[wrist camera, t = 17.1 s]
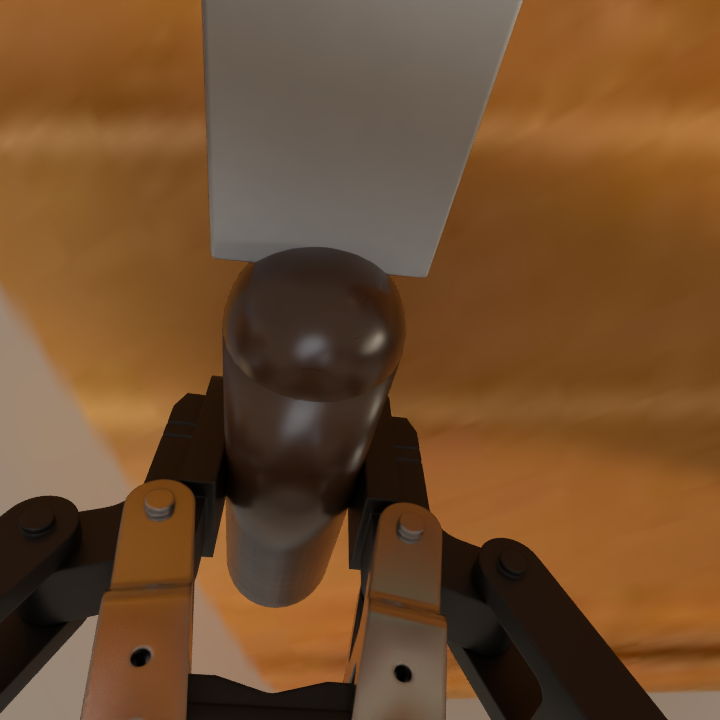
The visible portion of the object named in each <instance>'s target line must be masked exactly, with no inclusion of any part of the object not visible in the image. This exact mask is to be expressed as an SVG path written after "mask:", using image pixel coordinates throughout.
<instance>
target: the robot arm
mask: <svg viewBox="0 0 720 720" xmlns="http://www.w3.org/2000/svg"><path fill="white" fill-rule="evenodd" d="M225 498H226V470H225V437H224V385H223V377H222V376H212V377H211V380H210V383H209V386H208V389H207V392H206V395H200V394H191V393H187V394H186V395H185V396H184V397H183V398H182V399H181V400H180V401H178V402H177V403H176V404H175V405H174V407H173V409H172V412H171V414H170V417H169V420H168V424H167V425H166V427H165V430H164V433H163V436H162V438H161V441H160V443H159V446H158V448H157V451H156V454H155V456H154V459H153V461H152V464H151V467H150V469H149V472H148V474H147V477H146V480H145V482H144V484H142V485H140V486H138V487H137V488H135V489H134V490H133V491H132V492H131V493H130V494H129V495H128V496H127V498H126V500H125V501H124V502H121V503H119V504H117V505H114V506H110V507H105V508H100V509H94V510H88V511H81V512H78V509H77V508H76V506H75V505H74V504H73V503H72V502H71V501H69V500H67V499H65V498H62V497H58V496H40V497H35V498H31V499H28V500H25V501H23V502H21V503H19V504H17V505H15V506H14V507H12V508H11V509H10V510H8V511H7V512H6V513H4V514H3V515H2V516H1V517H0V713H1V712H2V711H3V710H4V709H5V708H6V707H7V705H8V704H9V703H10V702H11V701H12V700H13V699H14V698H15V697H16V696H17V695H18V693H19V692H20V691H21V690H22V689H23V688H24V687H25V686H26V685H27V684H28V683H29V681H30V680H31V679H32V678H33V677H34V676H35V675H36V674H37V673H38V672H39V671H40V670H41V668H42V667H43V666H44V665H45V664H46V663H47V662H48V661H49V660H50V659H51V657H52V656H53V655H54V654H55V653H56V652H57V651H58V650H59V649H60V647H61V646H62V645H63V644H64V643H65V642H66V641H67V640H68V639H69V638H70V637H71V636H72V635H73V633H74V632H75V631H76V630H77V629H78V628H79V627H80V626H81V625H82V624H83V622H84V621H85V620H86V618H87V617H90V616H95V615H99V616H98V622H97V627H96V632H95V638H94V644H93V649H92V655H91V660H90V666H89V672H88V678H87V683H86V688H85V694H84V700H83V705H82V711H81V717H80V720H446V675H447V643H448V646H449V648H450V650H451V652H452V653H453V655H454V657H455V659H456V660H457V662H458V664H459V665H460V667H461V669H462V671H463V672H464V674H465V676H466V677H467V679H468V681H469V683H470V684H471V686H472V688H473V689H474V691H475V693H476V695H477V696H478V698H479V700H480V701H481V703H482V705H483V706H484V708H485V710H486V712H487V713H488V715H489V717H490V719H491V720H668V719H667V718H666V717H665V716H664V715H663V713H662V712H661V711H660V709H659V708H658V707H657V706H656V704H655V703H654V702H653V701H652V699H651V698H650V697H649V696H648V694H647V693H646V692H645V691H644V689H643V688H642V687H641V686H640V684H639V683H638V682H637V681H636V679H635V678H634V677H633V676H632V674H631V673H630V672H629V671H628V669H627V668H626V667H625V666H624V664H623V663H622V662H621V661H620V659H619V658H618V657H617V656H616V654H615V653H614V652H613V651H612V649H611V648H610V647H609V646H608V644H607V643H606V642H605V641H604V639H603V638H602V637H601V636H600V634H599V633H598V632H597V631H596V630H595V628H594V627H593V626H592V625H591V623H590V622H589V621H588V620H587V618H586V617H585V616H584V615H583V613H582V612H581V611H580V610H579V608H578V607H577V606H576V605H575V603H574V602H573V601H572V600H571V598H570V597H569V596H568V595H567V593H566V592H565V591H564V590H563V588H562V587H561V586H560V585H559V583H558V582H557V581H556V580H555V578H554V577H553V576H552V575H551V573H550V572H549V571H548V570H547V568H546V567H545V566H544V565H543V563H542V562H541V561H540V560H539V558H538V557H537V556H536V555H535V554H534V553H533V552H532V551H531V550H530V549H529V548H528V547H526V546H525V545H523V544H521V543H519V542H517V541H514V540H511V539H507V538H495V539H491V540H489V541H487V542H486V543H484V545H483V546H482V547H481V548H480V547H477V546H475V545H472V544H469V543H467V542H464V541H461V540H459V539H457V538H454V537H453V536H451V535H449V534H448V533H446V532H445V531H444V530H443V529H442V528H441V525H440V523H439V521H438V520H437V518H436V517H435V516H434V515H433V514H432V513H431V512H430V509H429V504H428V498H427V492H426V486H425V479H424V473H423V467H422V464H421V455H420V451H419V443H418V437H417V432H416V431H415V429H414V428H413V427H412V425H411V424H410V422H409V421H408V419H407V418H400V417H392V416H391V409H390V401H389V397H388V396H387V398H386V401H385V404H384V407H383V410H382V413H381V415H380V418H379V421H378V424H377V427H376V430H375V433H374V435H373V438H372V441H371V444H370V447H369V450H368V452H367V455H366V458H365V461H364V464H363V467H362V469H361V472H360V475H359V478H358V481H357V484H356V486H355V489H354V492H353V495H352V498H351V501H350V504H349V506H348V531H349V569H357V570H361V586H360V590H359V594H358V598H357V604H356V610H355V616H354V622H353V628H352V633H351V639H350V645H349V651H348V657H347V663H346V669H345V675H344V680H343V683H338V682H324V683H320V684H315V685H311V686H306V687H301V688H297V689H292V690H288V691H283V692H278V693H266V692H263V691H260V690H257V689H254V688H251V687H248V686H245V685H243V684H240V683H237V682H234V681H231V680H228V679H225V678H222V677H219V676H216V675H201V674H191V664H192V636H193V610H194V609H193V608H194V580H195V579H196V576H197V572H198V568H199V564H200V560H201V556H202V557H213V553H214V549H215V544H216V540H217V535H218V530H219V526H220V521H221V517H222V512H223V507H224V503H225Z"/></svg>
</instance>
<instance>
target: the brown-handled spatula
mask: <svg viewBox="0 0 720 720" xmlns="http://www.w3.org/2000/svg"><path fill="white" fill-rule="evenodd" d="M522 2H523V0H202V27H203V54H204V82H205V109H206V136H207V163H208V191H209V218H210V245H211V255H212V257H213V258H215V259H224V260H234V261H245V262H250V263H249V264H248V265H247V266H246V267H245V268H244V269H243V270H242V271H241V272H240V274H239V275H238V277H237V279H236V280H235V282H234V284H233V286H232V288H231V290H230V292H229V295H228V297H227V301H226V305H225V308H224V316H223V328H222V334H223V385H224V437H225V470H226V540H227V565H228V569H229V573H230V576H231V578H232V580H233V583H234V585H235V586H236V587H237V589H238V590H239V591H240V593H241V594H243V595H244V596H245V597H246V598H247V599H249V600H250V601H252V602H254V603H256V604H259V605H262V606H265V607H273V608H279V607H287V606H290V605H293V604H296V603H298V602H300V601H302V600H303V599H305V598H306V597H307V596H309V595H310V594H311V593H312V592H313V591H314V590H315V588H316V587H317V586H318V585H319V583H320V582H321V580H322V578H323V576H324V574H325V572H326V569H327V566H328V563H329V560H330V557H331V555H332V552H333V549H334V546H335V543H336V540H337V538H338V535H339V532H340V529H341V526H342V523H343V521H344V518H345V515H346V512H347V509H348V506H349V504H350V501H351V498H352V495H353V492H354V489H355V486H356V484H357V481H358V478H359V475H360V472H361V469H362V467H363V464H364V461H365V458H366V455H367V452H368V450H369V447H370V444H371V441H372V438H373V435H374V433H375V430H376V427H377V424H378V421H379V418H380V415H381V413H382V410H383V407H384V404H385V401H386V398H387V396H388V393H389V390H390V387H391V384H392V381H393V379H394V376H395V373H396V370H397V367H398V364H399V361H400V358H401V355H402V352H403V346H404V341H405V336H406V325H405V312H404V308H403V304H402V300H401V297H400V295H399V292H398V290H397V288H396V286H395V284H394V282H393V280H392V278H391V277H390V276H389V275H397V276H408V277H419V278H424V277H426V276H427V275H428V272H429V269H430V266H431V263H432V261H433V258H434V255H435V252H436V249H437V246H438V243H439V240H440V238H441V235H442V232H443V229H444V226H445V223H446V220H447V217H448V215H449V212H450V209H451V206H452V203H453V200H454V197H455V194H456V192H457V189H458V186H459V183H460V180H461V177H462V174H463V171H464V169H465V166H466V163H467V160H468V157H469V154H470V151H471V148H472V146H473V143H474V140H475V137H476V134H477V131H478V128H479V125H480V123H481V120H482V117H483V114H484V111H485V108H486V105H487V102H488V100H489V97H490V94H491V91H492V88H493V85H494V82H495V79H496V76H497V74H498V71H499V68H500V65H501V62H502V59H503V56H504V53H505V51H506V48H507V45H508V42H509V39H510V36H511V33H512V30H513V28H514V25H515V22H516V19H517V16H518V13H519V10H520V7H521V5H522Z"/></svg>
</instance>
